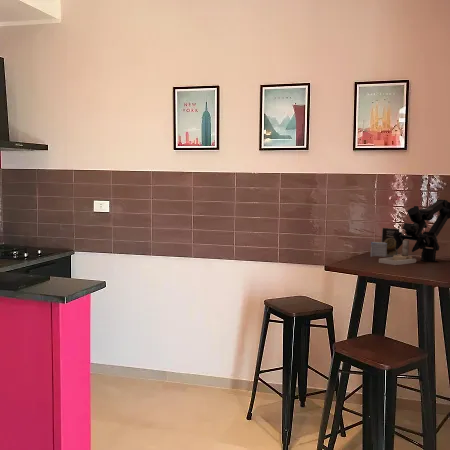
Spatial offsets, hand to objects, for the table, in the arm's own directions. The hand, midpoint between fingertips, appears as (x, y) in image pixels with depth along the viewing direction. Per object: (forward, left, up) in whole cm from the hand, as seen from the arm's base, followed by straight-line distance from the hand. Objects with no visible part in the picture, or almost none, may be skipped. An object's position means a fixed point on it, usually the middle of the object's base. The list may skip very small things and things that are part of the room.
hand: (404, 250), depth 270 cm
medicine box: (+3, -22, -7) cm, 23 cm away
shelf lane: (+5, +3, -7) cm, 9 cm away
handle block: (+1, 0, -6) cm, 6 cm away
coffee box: (-7, -29, -7) cm, 30 cm away
